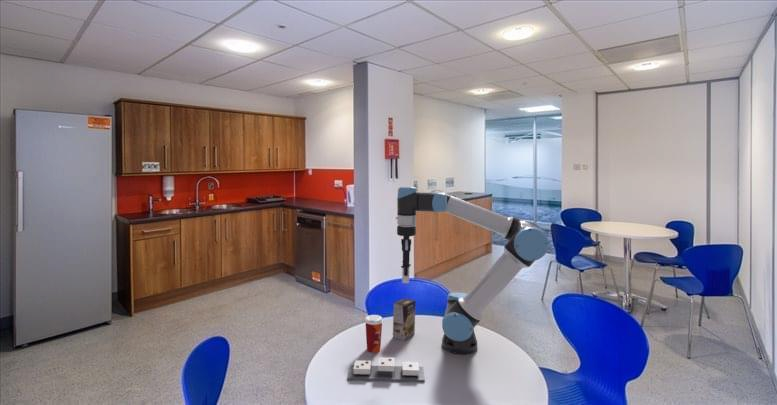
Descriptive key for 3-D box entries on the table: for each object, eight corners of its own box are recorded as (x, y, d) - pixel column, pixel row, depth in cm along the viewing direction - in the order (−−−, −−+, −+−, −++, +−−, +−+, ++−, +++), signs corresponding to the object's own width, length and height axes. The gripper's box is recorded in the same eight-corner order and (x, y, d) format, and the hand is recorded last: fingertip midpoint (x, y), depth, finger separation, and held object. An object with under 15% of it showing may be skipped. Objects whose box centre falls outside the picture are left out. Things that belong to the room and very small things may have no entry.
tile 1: (418, 366, 147) (418, 361, 146) (418, 375, 141) (419, 369, 140) (402, 366, 147) (402, 361, 146) (402, 375, 141) (402, 369, 140)
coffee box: (404, 341, 171) (404, 306, 169) (392, 337, 175) (392, 303, 173) (415, 333, 179) (415, 300, 177) (403, 330, 182) (404, 297, 181)
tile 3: (371, 365, 147) (371, 360, 147) (369, 374, 141) (369, 368, 141) (355, 365, 147) (355, 360, 147) (353, 373, 141) (353, 368, 141)
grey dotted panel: (423, 368, 148) (423, 366, 148) (424, 382, 139) (424, 379, 139) (350, 367, 149) (350, 364, 149) (347, 380, 140) (347, 377, 140)
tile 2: (394, 362, 147) (394, 357, 146) (394, 371, 141) (394, 365, 140) (378, 362, 147) (378, 357, 147) (377, 370, 141) (378, 365, 141)
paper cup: (380, 355, 159) (380, 322, 157) (362, 352, 160) (362, 320, 159) (384, 346, 166) (384, 314, 165) (367, 344, 168) (367, 313, 166)
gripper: (397, 222, 161) (396, 277, 163) (397, 227, 148) (396, 287, 150) (415, 222, 161) (414, 278, 163) (416, 228, 148) (415, 287, 150)
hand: (405, 282), depth 157 cm, fingers closed
